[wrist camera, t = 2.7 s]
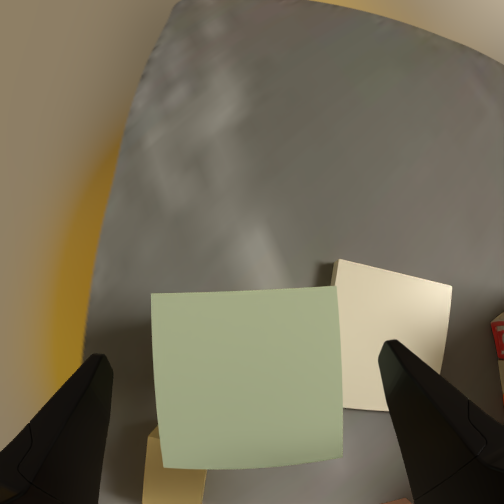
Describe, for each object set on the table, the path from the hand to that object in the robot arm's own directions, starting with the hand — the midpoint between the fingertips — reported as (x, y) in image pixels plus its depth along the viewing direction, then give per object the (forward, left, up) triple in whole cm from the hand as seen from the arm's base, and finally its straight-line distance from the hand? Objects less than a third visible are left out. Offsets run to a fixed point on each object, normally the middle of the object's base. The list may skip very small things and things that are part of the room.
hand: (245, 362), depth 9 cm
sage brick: (0, 0, -8) cm, 8 cm away
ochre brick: (-8, +2, -8) cm, 12 cm away
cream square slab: (+2, -8, -8) cm, 12 cm away
